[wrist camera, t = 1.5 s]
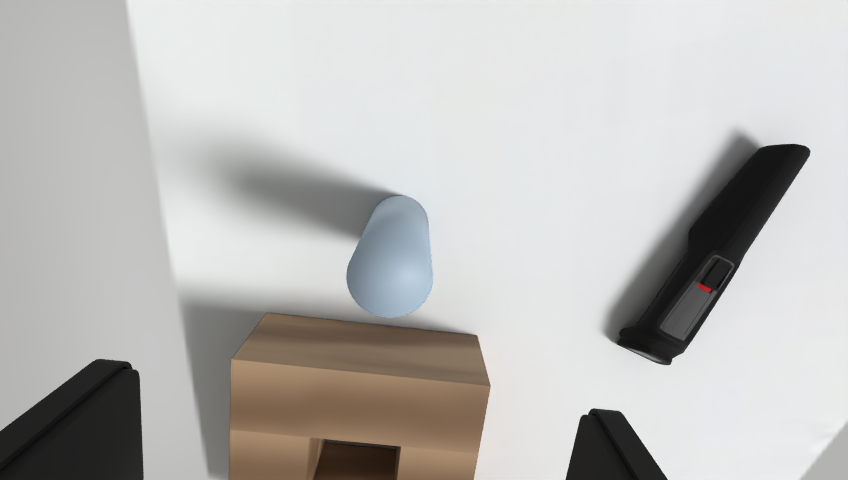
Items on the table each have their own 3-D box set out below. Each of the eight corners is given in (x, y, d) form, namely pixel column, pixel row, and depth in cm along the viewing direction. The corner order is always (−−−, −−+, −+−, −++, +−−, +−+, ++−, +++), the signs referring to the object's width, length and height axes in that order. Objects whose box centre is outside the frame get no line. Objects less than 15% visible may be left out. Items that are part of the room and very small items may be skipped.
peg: (373, 192, 28) (350, 231, 19) (431, 199, 29) (437, 241, 19) (368, 248, 29) (343, 312, 20) (424, 254, 30) (427, 321, 20)
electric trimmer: (793, 159, 29) (838, 163, 26) (654, 361, 32) (679, 386, 29) (744, 131, 28) (784, 132, 25) (608, 339, 32) (629, 362, 29)
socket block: (266, 312, 30) (231, 359, 25) (477, 335, 31) (490, 386, 25) (260, 487, 34) (227, 564, 28) (448, 505, 35) (454, 583, 29)
